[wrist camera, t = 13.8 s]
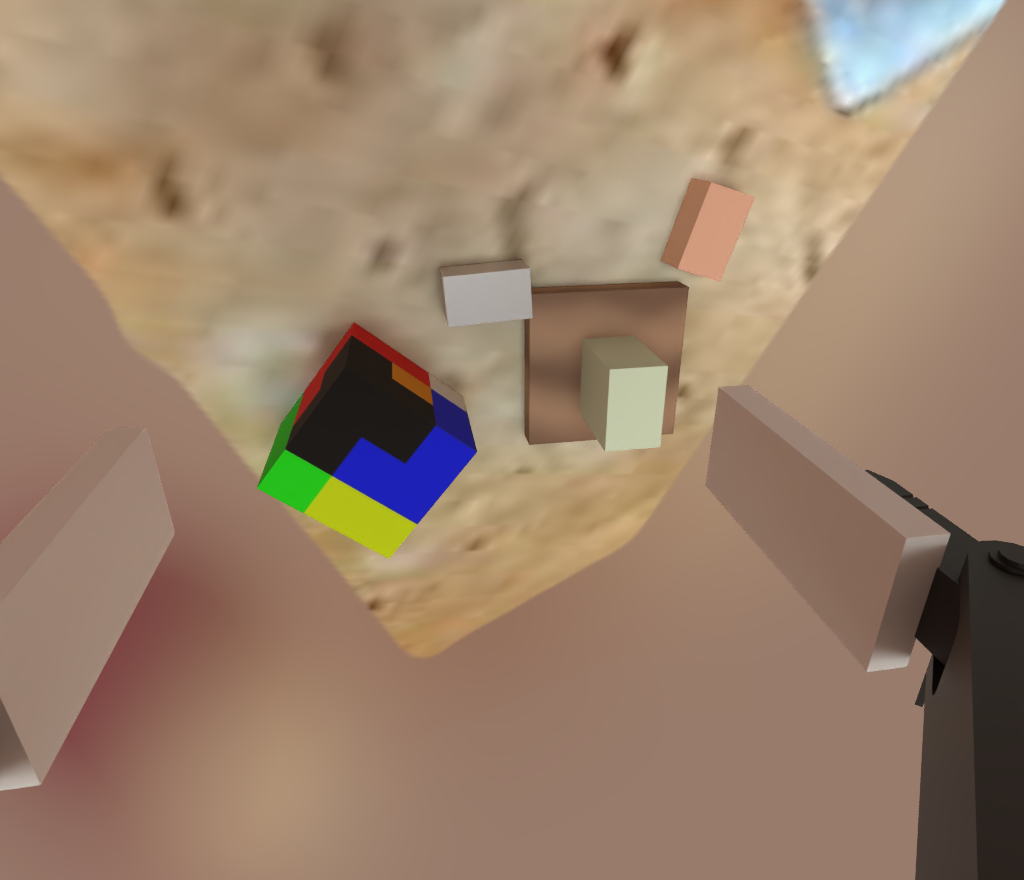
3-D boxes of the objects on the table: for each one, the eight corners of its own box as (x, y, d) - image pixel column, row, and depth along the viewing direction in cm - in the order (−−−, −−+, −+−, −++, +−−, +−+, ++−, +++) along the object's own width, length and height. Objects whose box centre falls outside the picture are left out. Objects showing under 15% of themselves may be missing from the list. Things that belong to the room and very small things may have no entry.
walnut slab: (525, 288, 49) (529, 294, 48) (678, 281, 51) (688, 287, 49) (524, 434, 55) (529, 444, 53) (664, 423, 56) (673, 433, 54)
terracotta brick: (690, 178, 48) (711, 182, 45) (731, 192, 49) (755, 197, 46) (660, 259, 50) (677, 268, 47) (700, 272, 51) (720, 281, 48)
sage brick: (582, 338, 50) (609, 369, 43) (633, 335, 50) (668, 365, 44) (579, 412, 52) (604, 451, 46) (628, 408, 53) (660, 447, 47)
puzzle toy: (462, 396, 52) (477, 451, 43) (389, 488, 55) (388, 558, 46) (354, 322, 49) (345, 366, 40) (280, 424, 51) (256, 488, 42)
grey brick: (444, 314, 49) (448, 327, 46) (439, 266, 48) (442, 277, 45) (523, 306, 50) (532, 318, 47) (521, 258, 49) (530, 268, 45)
